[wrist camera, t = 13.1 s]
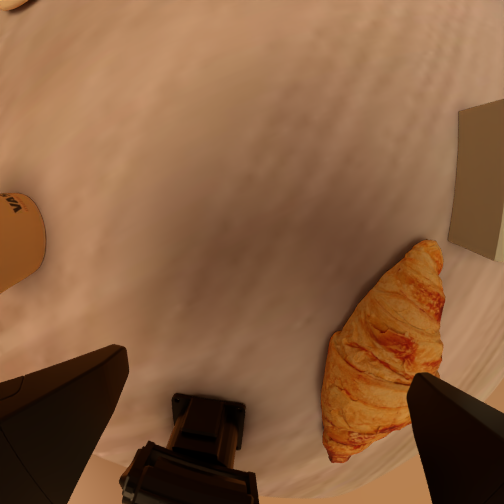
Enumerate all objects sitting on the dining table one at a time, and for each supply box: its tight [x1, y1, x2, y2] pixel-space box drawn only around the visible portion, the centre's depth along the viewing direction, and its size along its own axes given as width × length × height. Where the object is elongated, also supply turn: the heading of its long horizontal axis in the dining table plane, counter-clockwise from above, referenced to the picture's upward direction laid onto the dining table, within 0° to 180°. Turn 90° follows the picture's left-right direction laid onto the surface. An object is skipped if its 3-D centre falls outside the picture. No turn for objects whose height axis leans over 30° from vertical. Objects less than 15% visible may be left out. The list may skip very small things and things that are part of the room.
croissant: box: [321, 239, 445, 463], centre depth 20 cm, size 21×10×8 cm, turn 169°
